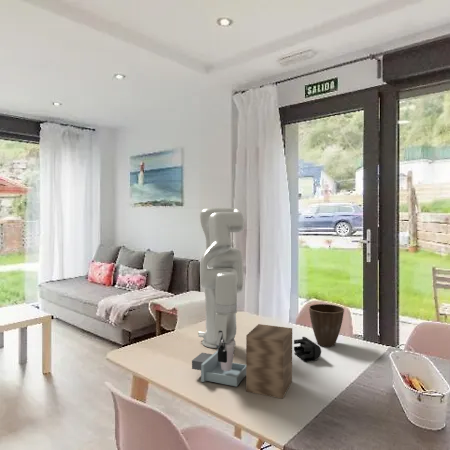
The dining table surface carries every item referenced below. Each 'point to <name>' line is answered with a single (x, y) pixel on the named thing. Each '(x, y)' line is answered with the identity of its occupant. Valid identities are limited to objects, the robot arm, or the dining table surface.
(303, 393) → the dining table surface
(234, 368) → the tray
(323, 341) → the plant pot
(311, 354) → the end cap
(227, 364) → the smoothie
